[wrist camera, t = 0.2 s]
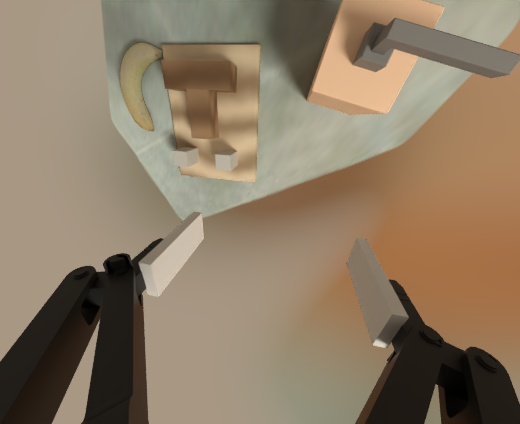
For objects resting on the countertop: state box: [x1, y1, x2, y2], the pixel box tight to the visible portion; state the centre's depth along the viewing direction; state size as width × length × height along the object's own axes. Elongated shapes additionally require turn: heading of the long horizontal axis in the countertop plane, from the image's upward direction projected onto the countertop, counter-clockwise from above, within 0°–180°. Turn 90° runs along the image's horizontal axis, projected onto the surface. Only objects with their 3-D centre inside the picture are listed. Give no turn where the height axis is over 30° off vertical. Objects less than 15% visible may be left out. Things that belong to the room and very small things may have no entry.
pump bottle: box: [307, 0, 520, 115], centre depth 23 cm, size 13×9×22 cm
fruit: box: [120, 43, 163, 131], centre depth 38 cm, size 7×15×3 cm, turn 159°
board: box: [162, 45, 261, 182], centre depth 39 cm, size 24×18×1 cm
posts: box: [172, 147, 238, 171], centre depth 40 cm, size 3×12×5 cm, turn 87°
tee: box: [161, 60, 237, 139], centre depth 35 cm, size 12×12×4 cm
